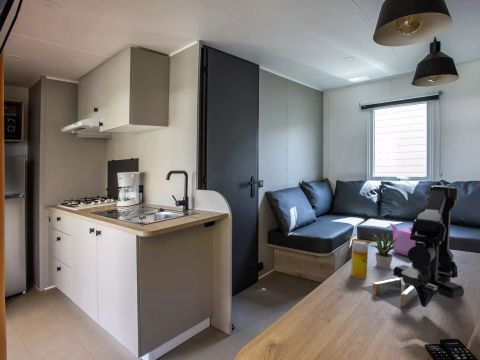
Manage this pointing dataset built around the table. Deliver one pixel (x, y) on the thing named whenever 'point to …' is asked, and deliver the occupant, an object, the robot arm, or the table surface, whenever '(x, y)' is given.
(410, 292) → the tongs hinged arm
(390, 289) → the arm
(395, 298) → the charcoal mat
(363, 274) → the beer can
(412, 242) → the teapot
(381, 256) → the house plant
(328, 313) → the table surface
